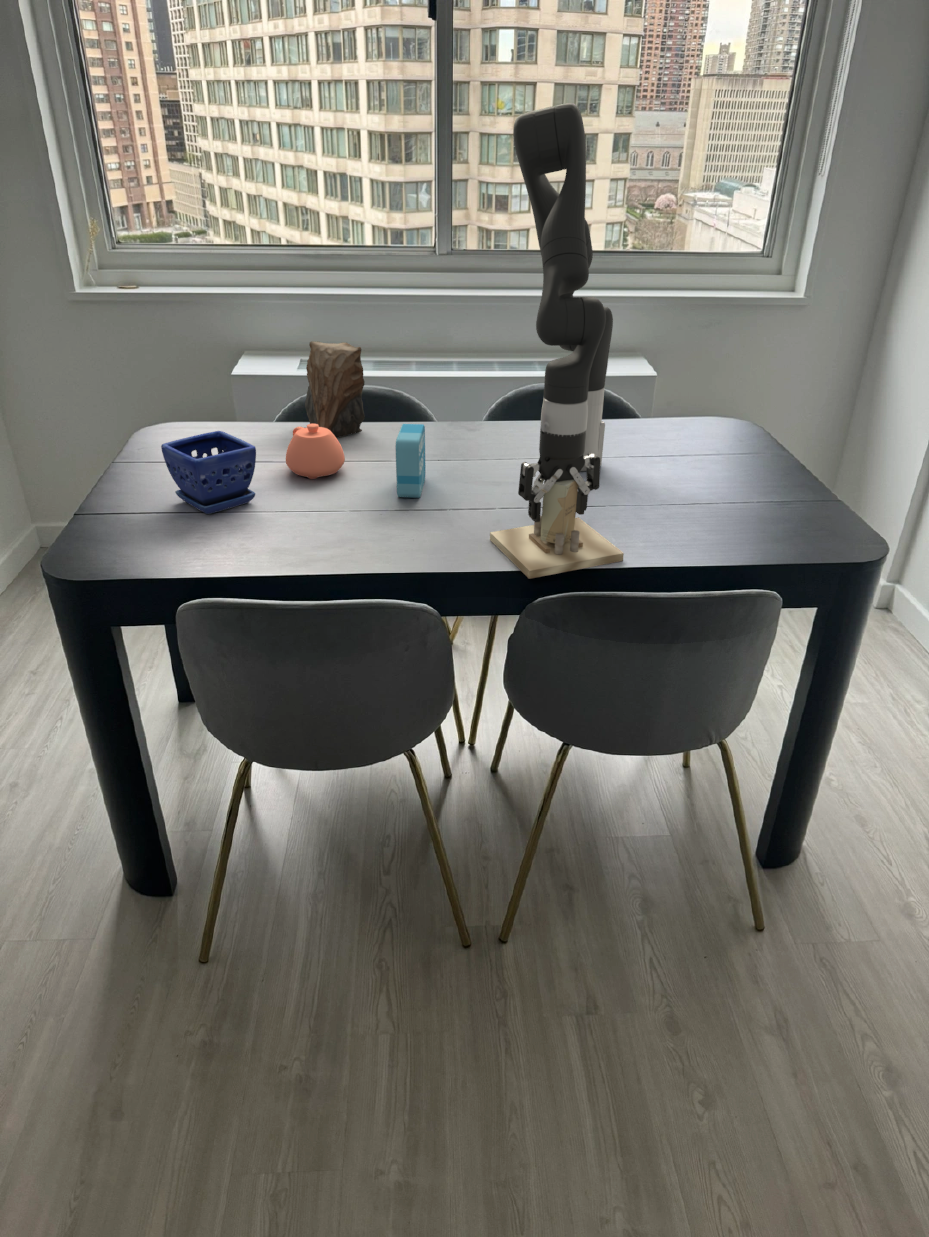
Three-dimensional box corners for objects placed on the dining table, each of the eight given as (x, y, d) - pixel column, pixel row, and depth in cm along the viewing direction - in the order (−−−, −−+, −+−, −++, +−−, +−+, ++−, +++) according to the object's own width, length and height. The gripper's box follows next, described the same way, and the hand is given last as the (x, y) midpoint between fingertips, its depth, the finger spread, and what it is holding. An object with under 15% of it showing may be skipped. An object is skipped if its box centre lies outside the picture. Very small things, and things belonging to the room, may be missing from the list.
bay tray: (577, 524, 164) (579, 499, 161) (622, 560, 151) (625, 534, 149) (489, 539, 158) (490, 514, 155) (529, 578, 145) (530, 551, 143)
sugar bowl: (307, 487, 179) (303, 438, 173) (271, 468, 188) (266, 421, 182) (356, 473, 186) (354, 426, 180) (320, 455, 195) (316, 410, 189)
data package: (419, 500, 173) (418, 442, 167) (396, 499, 173) (395, 441, 167) (425, 478, 184) (424, 422, 177) (404, 477, 184) (402, 421, 178)
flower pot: (227, 484, 179) (220, 428, 173) (264, 503, 171) (257, 444, 165) (168, 502, 171) (158, 443, 165) (203, 522, 163) (194, 461, 157)
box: (561, 546, 151) (565, 486, 145) (539, 540, 153) (542, 480, 147) (574, 535, 155) (579, 476, 149) (553, 529, 156) (557, 471, 151)
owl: (305, 425, 212) (298, 340, 202) (355, 419, 217) (350, 336, 206) (319, 441, 202) (313, 353, 192) (371, 434, 207) (367, 348, 197)
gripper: (590, 414, 148) (582, 502, 157) (514, 423, 144) (510, 514, 152) (613, 427, 142) (604, 519, 151) (534, 437, 138) (529, 531, 146)
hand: (557, 516), depth 151 cm, fingers open, 8 cm apart
